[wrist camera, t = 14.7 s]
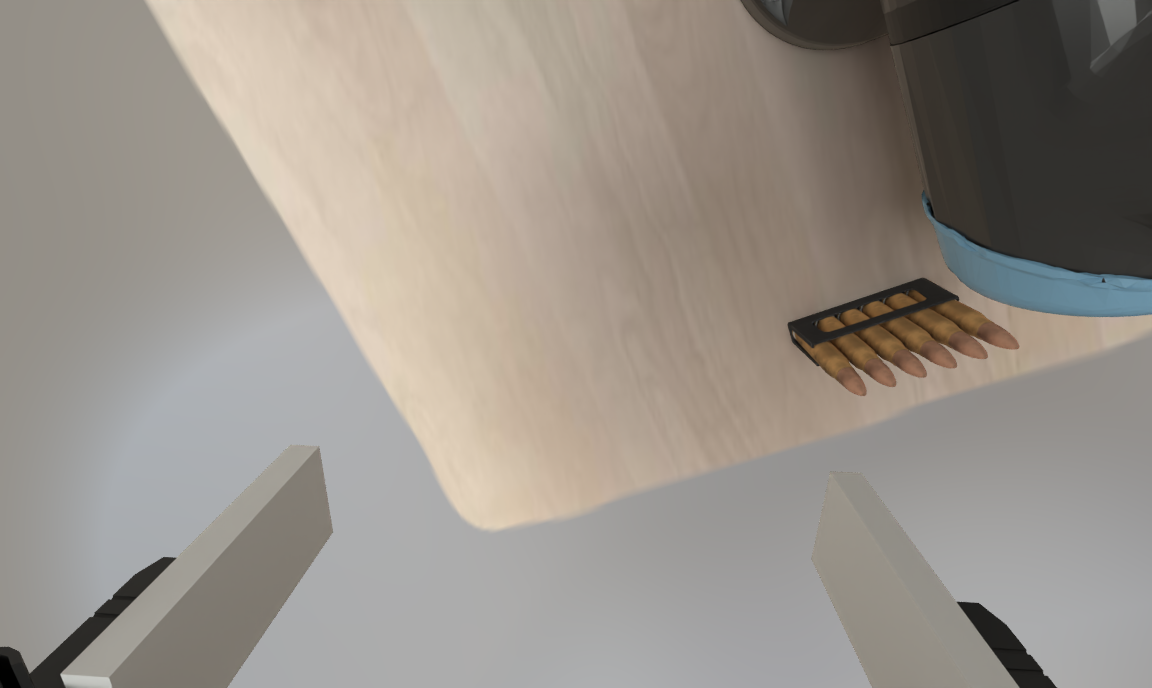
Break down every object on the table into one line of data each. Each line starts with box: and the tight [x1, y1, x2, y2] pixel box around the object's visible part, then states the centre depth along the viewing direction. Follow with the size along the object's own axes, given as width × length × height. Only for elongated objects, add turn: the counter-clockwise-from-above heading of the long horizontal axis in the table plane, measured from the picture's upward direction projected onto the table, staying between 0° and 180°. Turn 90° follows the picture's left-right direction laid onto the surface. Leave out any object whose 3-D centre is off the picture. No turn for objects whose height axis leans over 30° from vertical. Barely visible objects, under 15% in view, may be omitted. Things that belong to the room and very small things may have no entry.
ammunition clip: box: [788, 278, 1019, 396], centre depth 39 cm, size 11×2×12 cm, turn 112°
